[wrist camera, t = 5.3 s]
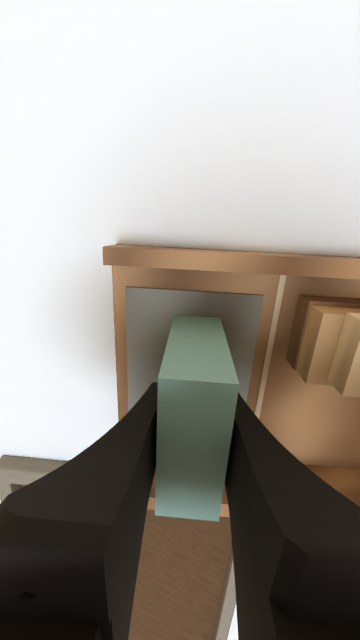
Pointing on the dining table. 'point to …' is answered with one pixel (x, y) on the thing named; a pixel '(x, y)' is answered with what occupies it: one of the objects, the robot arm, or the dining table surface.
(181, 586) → the clipboard
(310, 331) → the offcut stack
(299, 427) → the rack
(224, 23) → the dining table surface
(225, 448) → the rectangular block
